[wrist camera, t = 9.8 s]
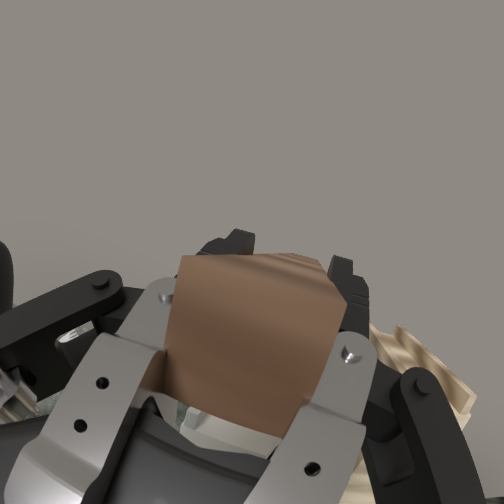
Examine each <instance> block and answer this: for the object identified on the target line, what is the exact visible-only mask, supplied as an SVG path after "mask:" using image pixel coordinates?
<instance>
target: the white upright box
mask: <svg viewBox="0 0 504 504" xmlns="http://www.w3.org/2000/svg"><path fill="white" fill-rule="evenodd" d="M180 434H182V435H183V436H184V437H185V438H187V439H188V440H189V441H191V442H192V443H193V444H195V445H196V446H199V447H201V448H206V449H213V450H220V451H228V452H236V453H247V454H251V455H254V456H257V457H261V458H264V459H265V458H266V456H267V454H268V453H269V451H270V450H271V448H272V447H273V445H274V443H275V442H276V440H277V438H278V437H275V436H272V435H268V434H265V433H261V432H258V431H255V430H252V429H249V428H246V427H243V426H240V425H237V424H234V423H231V422H228V421H226V420H223V419H220V418H218V417H215V416H213V415H210V414H208V413H205V412H203V411H200V410H198V409H196V408H193V407H191V406H190V408H189V409H188V410H187V412H186V417H185V421H184V422H183V423H182V424H181V428H180Z"/></svg>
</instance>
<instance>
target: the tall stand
mask: <svg viewBox="0 0 504 504" xmlns="http://www.w3.org/2000/svg"><path fill="white" fill-rule="evenodd" d="M369 340H370V341H371V342H372V344H373V345H374V347H375V349H376V351H377V358H378V359H379V360H380V361H381V362H382V363H383V364H385V365H387V366H388V367H390V368H392V369H394V370H396V371H398V372H400V373H402V374H403V373H404V372H405V371H406V370H407V369H409V368H411V367H422V368H425V369H427V370H429V371H430V372H431V373H433V374H434V375H435V377H436V378H437V379H438V381H439V383H440V385H441V387H442V389H443V391H444V393H445V395H446V397H447V399H448V401H449V403H450V406H451V408H452V410H453V412H454V414H455V417H456V419H457V421H458V423H459V426H460V428H461V431H462V429H463V428H464V426H465V425H466V423H467V422H468V420H469V418H470V416H471V414H470V412H469V410H470V409H471V407H472V405H473V403H474V401H475V399H476V398H477V395H476V394H474V392H472V391H471V390H470V389H469V388H468V387H467V386H466V385H465V384H464V383H463V382H462V381H461V380H460V379H459V378H458V377H457V376H456V375H455V374H454V373H453V372H452V371H451V370H450V369H448V368H447V367H446V366H445V365H444V364H443V363H442V362H441V361H440V360H439V359H438V358H437V357H435V356H434V355H433V354H432V353H431V352H430V351H429V350H428V349H427V348H426V347H424V346H423V345H422V344H421V343H420V342H419V341H418V340H417V339H416V338H415V337H413V336H412V335H411V334H410V333H409V332H407V330H405V329H404V328H403V327H402V326H400V325H396V327H395V329H394V332H393V335H388V334H385V333H381V332H378V331H377V330H376V328H375V327H374V326H373V325H372V323H371V322H370V321H369ZM339 504H376V503H375V499H374V495H373V491H372V487H371V484H370V480H369V476H368V472H367V469H366V465H365V462H364V458H363V455H362V451H361V450H360V453H359V456H358V458H357V461H356V464H355V466H354V469H353V471H352V474H351V476H350V479H349V481H348V484H347V486H346V488H345V491H344V493H343V495H342V497H341V500H340V502H339Z"/></svg>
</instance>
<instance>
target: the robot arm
mask: <svg viewBox="0 0 504 504" xmlns="http://www.w3.org/2000/svg"><path fill="white" fill-rule="evenodd" d="M254 243H255V234H254V233H251V232H247V231H243V230H239V229H234V230H233V231H232V232H231V234H230V235H229V236H228V237H227V238H226V239H222V238H217V239H214V240H212V241H210V242H208V243H207V244H206V245H205V246H204V247H203V248H202V249H201V251H199V252H198V253H197V254H196V255H233V254H235V255H253V250H254ZM177 275H178V274H177ZM177 275H176V276H175V277H174V278H162V279H158V280H156V281H154V282H152V283H150V284H149V285H148V286H147V288H146V289H138V288H131V287H123V283H122V279H121V276H120V275H119V274H118V273H116V272H114V271H111V270H100V271H96V272H93V273H91V274H88V275H86V276H84V277H81V278H79V279H77V280H75V281H72V282H70V283H68V284H66V285H63V286H61V287H59V288H56V289H54V290H52V291H50V292H48V293H45V294H43V295H41V296H39V297H37V298H34V299H32V300H30V301H28V302H26V303H24V304H21V305H19V306H17V307H15V308H13V309H12V306H13V285H14V284H13V281H14V276H13V264H12V258H11V255H10V252H9V250H8V248H7V247H6V245H5V244H4V243H2V242H1V241H0V504H339V502H340V500H341V497H342V495H343V493H344V491H345V488H346V486H347V484H348V481H349V479H350V476H351V474H352V471H353V469H354V466H355V464H356V461H357V458H358V456H359V453H360V450H361V451H362V455H363V458H364V462H365V465H366V469H367V472H368V476H369V480H370V484H371V487H372V491H373V495H374V499H375V503H376V504H486V501H485V497H484V493H483V490H482V486H481V483H480V480H479V477H478V474H477V470H476V468H475V465H474V462H473V459H472V456H471V453H470V451H469V448H468V446H467V443H466V440H465V438H464V435H463V433H462V431H461V428H460V426H459V423H458V421H457V419H456V417H455V414H454V412H453V410H452V408H451V406H450V403H449V401H448V399H447V397H446V395H445V393H444V391H443V389H442V387H441V385H440V383H439V381H438V379H437V378H436V377H435V375H434V374H433V373H431V372H430V371H429V370H427V369H425V368H422V367H411V368H409V369H407V370H406V371H405V372H404V373H403V374H402V373H400V372H398V371H396V370H394V369H392V368H390V367H388V366H387V365H385V364H383V363H382V362H381V361H380V360H379V359H378V358H377V351H376V349H375V347H374V345H373V344H372V342H371V341H370V340H369V300H368V299H369V289H368V286H367V284H366V282H365V280H364V279H363V278H362V277H359V276H356V275H353V261H352V260H350V259H346V258H343V257H339V256H336V255H333V257H332V260H331V263H330V266H329V269H328V273H327V277H328V278H329V280H330V281H331V282H333V283H334V285H335V286H336V288H337V289H338V291H339V292H340V294H341V295H342V297H343V298H344V300H345V301H346V303H347V307H346V310H345V313H344V316H343V319H342V322H341V325H340V328H339V331H338V334H337V337H336V339H335V342H334V345H333V348H332V350H331V353H330V356H329V358H328V361H327V363H326V366H325V368H324V371H323V373H322V376H321V378H320V381H319V383H318V386H317V388H316V390H315V393H314V395H313V397H312V399H309V398H305V397H304V398H303V400H302V402H301V404H300V405H299V407H298V409H297V411H296V412H295V414H294V416H293V418H292V419H291V421H290V423H289V424H288V426H287V428H286V429H285V431H284V433H283V434H282V436H281V438H279V437H278V438H277V440H276V442H275V443H274V445H273V447H272V448H271V450H270V451H269V453H268V454H267V456H266V458H265V459H264V458H261V457H257V456H254V455H251V454H247V453H236V452H228V451H220V450H213V449H206V448H201V447H199V446H196V445H195V444H193V443H192V442H191V441H189V440H188V439H187V438H185V437H184V436H183V435H182V434H180V433H179V432H178V431H177V430H175V429H174V428H173V427H174V424H175V421H176V416H177V406H178V400H175V399H173V398H171V397H169V396H167V395H165V394H164V386H165V369H166V356H167V348H165V347H164V341H165V335H166V330H167V324H168V319H169V314H170V309H171V304H172V299H173V294H174V289H175V284H176V280H177ZM89 321H92V323H93V326H94V329H92V330H90V331H87V332H85V333H83V334H81V335H79V336H77V337H75V338H73V339H71V340H69V341H67V342H59V341H57V340H56V339H57V338H58V337H59V336H60V335H62V334H64V333H66V332H68V331H70V330H72V329H74V328H77V327H79V326H81V325H83V324H85V323H87V322H89ZM63 389H64V390H63ZM61 390H63V392H62V394H61V396H60V397H59V399H58V401H57V403H56V404H55V406H54V408H53V410H52V412H51V414H49V415H45V416H41V417H36V416H37V415H38V412H39V408H38V406H37V404H36V403H37V402H39V401H41V400H43V399H45V398H47V397H49V396H51V395H53V394H55V393H57V392H59V391H61ZM26 416H29V417H36V418H31V419H26V420H24V418H25V417H26Z"/></svg>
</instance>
